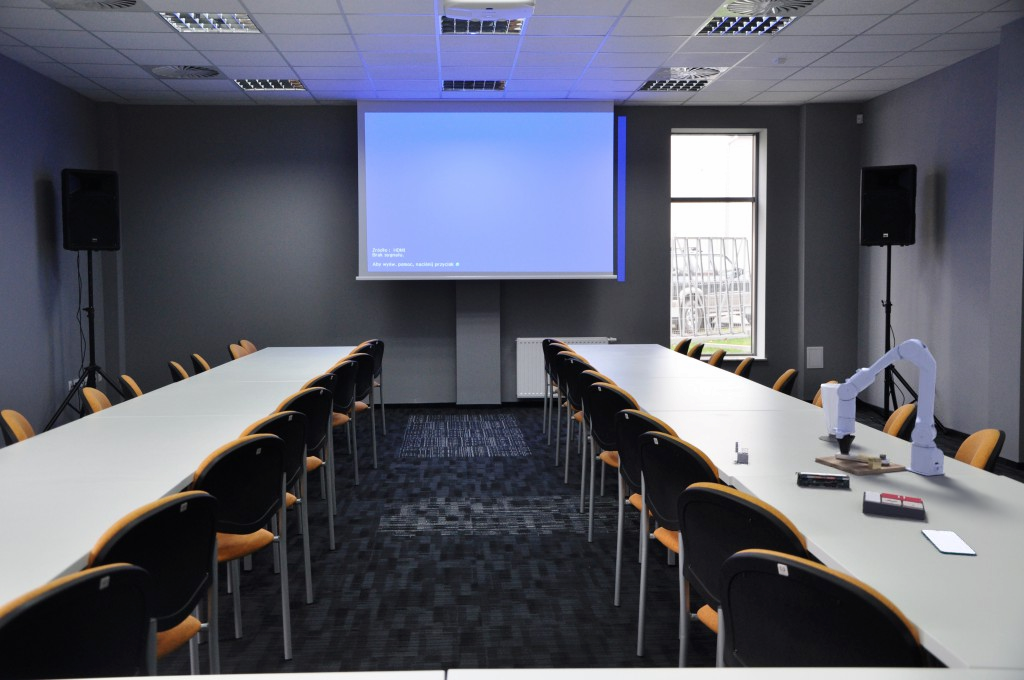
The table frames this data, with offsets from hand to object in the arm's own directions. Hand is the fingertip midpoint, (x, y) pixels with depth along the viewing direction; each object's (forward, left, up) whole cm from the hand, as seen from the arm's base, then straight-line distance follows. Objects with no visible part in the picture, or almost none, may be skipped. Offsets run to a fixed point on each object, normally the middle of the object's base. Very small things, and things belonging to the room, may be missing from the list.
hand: (844, 455), depth 274 cm
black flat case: (-26, +29, -3) cm, 39 cm away
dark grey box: (-51, +30, -3) cm, 60 cm away
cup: (+31, -23, -2) cm, 39 cm away
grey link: (-7, -2, 0) cm, 7 cm away
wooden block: (-13, +2, -1) cm, 13 cm away
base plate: (-7, 0, -2) cm, 7 cm away
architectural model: (+13, +30, -3) cm, 33 cm away
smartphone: (-76, +38, -3) cm, 85 cm away
